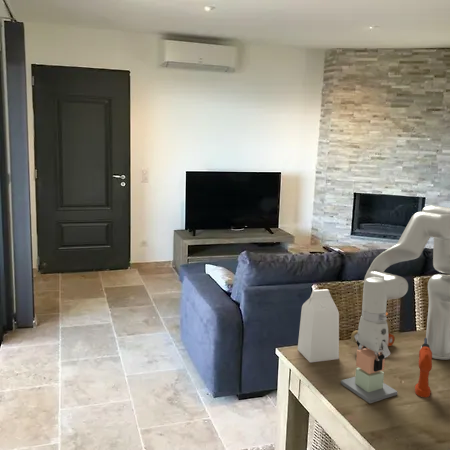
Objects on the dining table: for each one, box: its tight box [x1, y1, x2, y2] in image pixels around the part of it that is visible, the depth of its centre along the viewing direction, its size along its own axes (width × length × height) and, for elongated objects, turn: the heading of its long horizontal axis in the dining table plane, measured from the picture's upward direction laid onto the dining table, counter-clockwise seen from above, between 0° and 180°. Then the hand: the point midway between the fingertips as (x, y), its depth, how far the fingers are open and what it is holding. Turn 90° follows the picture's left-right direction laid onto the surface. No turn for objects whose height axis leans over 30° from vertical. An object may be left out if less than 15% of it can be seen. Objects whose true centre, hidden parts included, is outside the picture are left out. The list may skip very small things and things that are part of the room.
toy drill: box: [414, 337, 433, 398], centre depth 170 cm, size 5×19×15 cm, turn 159°
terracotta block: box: [355, 348, 386, 374], centre depth 166 cm, size 6×6×6 cm
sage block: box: [354, 367, 385, 392], centre depth 167 cm, size 6×6×6 cm
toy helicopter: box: [350, 311, 396, 347], centre depth 200 cm, size 8×21×14 cm, turn 121°
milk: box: [297, 288, 340, 363], centre depth 191 cm, size 12×12×26 cm
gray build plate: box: [340, 376, 398, 404], centre depth 168 cm, size 12×14×1 cm
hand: (370, 365), depth 166 cm, fingers closed on terracotta block, 6 cm apart
